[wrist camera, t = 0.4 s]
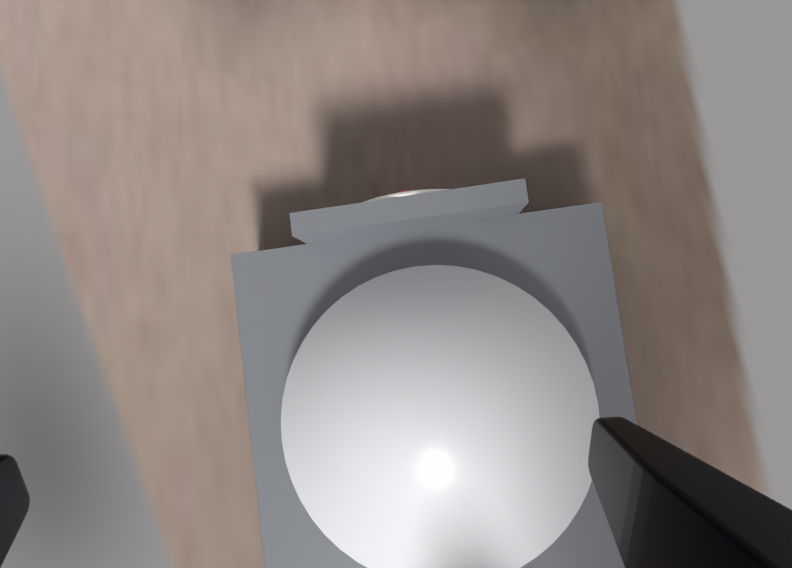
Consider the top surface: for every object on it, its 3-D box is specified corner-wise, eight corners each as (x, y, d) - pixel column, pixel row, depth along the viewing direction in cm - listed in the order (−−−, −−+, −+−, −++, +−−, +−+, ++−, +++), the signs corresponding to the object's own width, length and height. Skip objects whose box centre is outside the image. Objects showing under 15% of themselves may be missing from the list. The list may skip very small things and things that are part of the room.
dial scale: (631, 555, 20) (693, 634, 15) (294, 587, 21) (252, 670, 16) (574, 192, 21) (616, 157, 16) (255, 239, 22) (204, 218, 17)
